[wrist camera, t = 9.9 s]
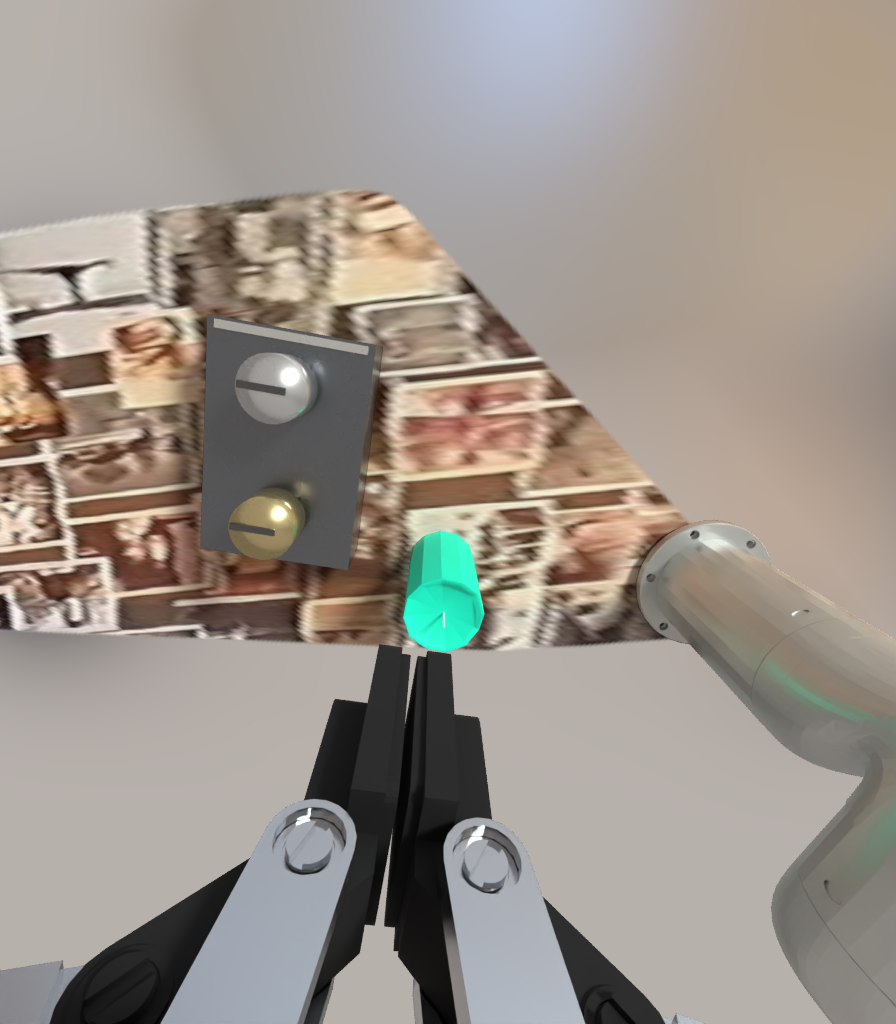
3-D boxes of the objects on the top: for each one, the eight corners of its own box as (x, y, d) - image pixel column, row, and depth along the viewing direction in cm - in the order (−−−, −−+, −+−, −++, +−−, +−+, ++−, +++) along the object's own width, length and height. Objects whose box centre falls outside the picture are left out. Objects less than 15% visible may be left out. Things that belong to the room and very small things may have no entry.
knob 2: (320, 479, 42) (295, 505, 34) (315, 529, 43) (290, 565, 36) (266, 470, 42) (228, 495, 34) (263, 521, 43) (226, 555, 35)
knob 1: (332, 360, 39) (308, 359, 32) (327, 417, 41) (302, 429, 33) (275, 349, 39) (235, 346, 31) (271, 407, 40) (232, 418, 33)
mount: (383, 347, 40) (376, 345, 35) (357, 548, 45) (347, 570, 40) (235, 320, 39) (206, 313, 34) (225, 528, 44) (199, 548, 40)
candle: (432, 600, 47) (431, 677, 36) (397, 552, 46) (384, 616, 34) (485, 569, 46) (501, 637, 35) (451, 519, 45) (457, 573, 33)
